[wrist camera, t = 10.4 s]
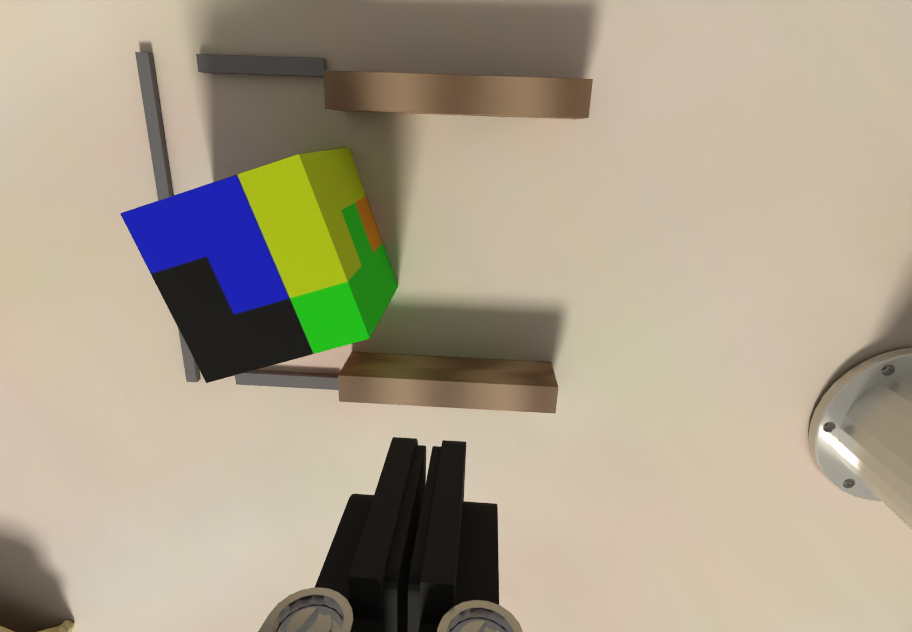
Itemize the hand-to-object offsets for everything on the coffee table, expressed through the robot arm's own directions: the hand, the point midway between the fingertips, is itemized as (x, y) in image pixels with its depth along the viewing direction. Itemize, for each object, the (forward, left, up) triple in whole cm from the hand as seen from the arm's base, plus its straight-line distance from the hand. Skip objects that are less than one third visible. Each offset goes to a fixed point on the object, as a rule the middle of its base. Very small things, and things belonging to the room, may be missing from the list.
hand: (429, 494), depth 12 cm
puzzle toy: (+11, 0, -27) cm, 29 cm away
